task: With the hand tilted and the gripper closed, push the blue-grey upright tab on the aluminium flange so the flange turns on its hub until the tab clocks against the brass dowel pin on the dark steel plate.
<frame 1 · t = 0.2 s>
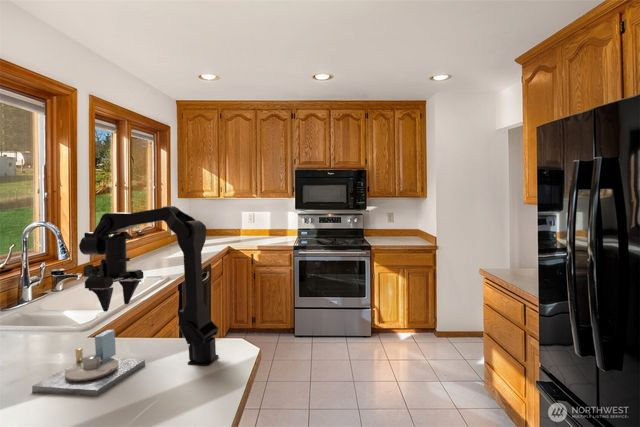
hand: (116, 307, 118), 14 cm above the counter, tool pointing down, fingers open, 9 cm apart
locating plate: (92, 377, 104), on the counter
flange: (94, 353, 105), point 6 cm above the counter, hinge at 0.0°
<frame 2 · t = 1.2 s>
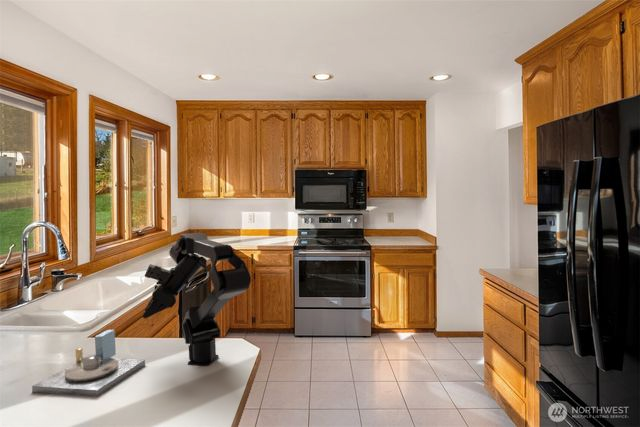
hand: (144, 314, 113), 14 cm above the counter, tool tilted 45°, fingers open, 7 cm apart
nothing on the counter moved.
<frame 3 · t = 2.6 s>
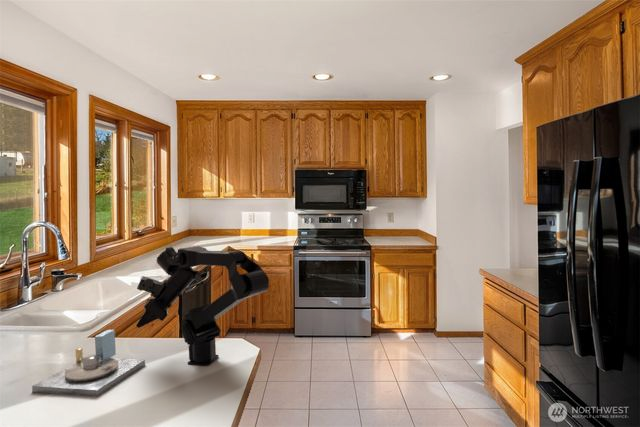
hand: (137, 326, 113), 10 cm above the counter, tool tilted 45°, fingers closed
nothing on the counter moved.
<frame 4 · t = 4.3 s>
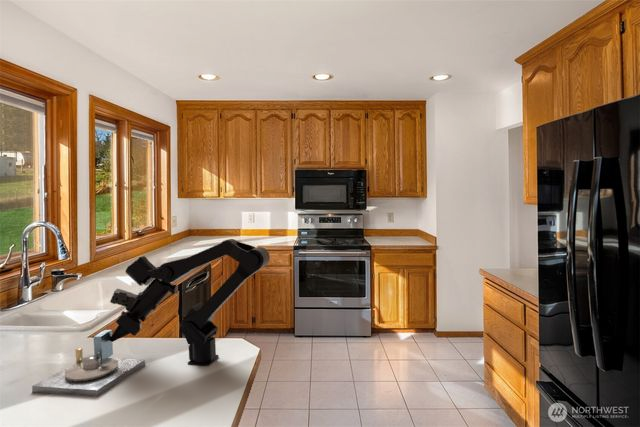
hand: (111, 340, 111), 7 cm above the counter, tool tilted 45°, fingers closed
flange: (94, 353, 105), point 6 cm above the counter, hinge at 5.9°, touching gripper
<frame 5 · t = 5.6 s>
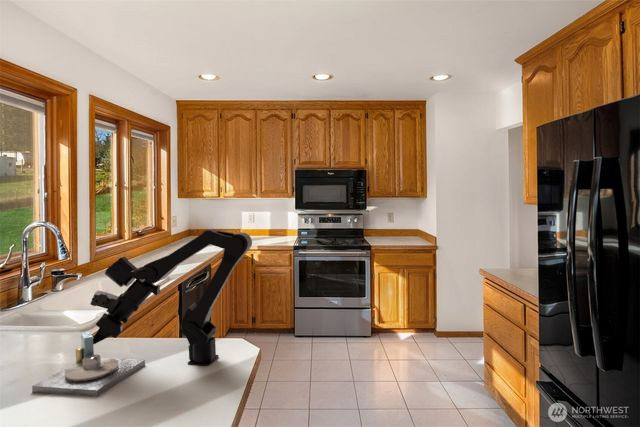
hand: (92, 342, 109), 7 cm above the counter, tool tilted 45°, fingers closed
flange: (90, 354, 104), point 6 cm above the counter, hinge at 45.2°, touching gripper, locating plate
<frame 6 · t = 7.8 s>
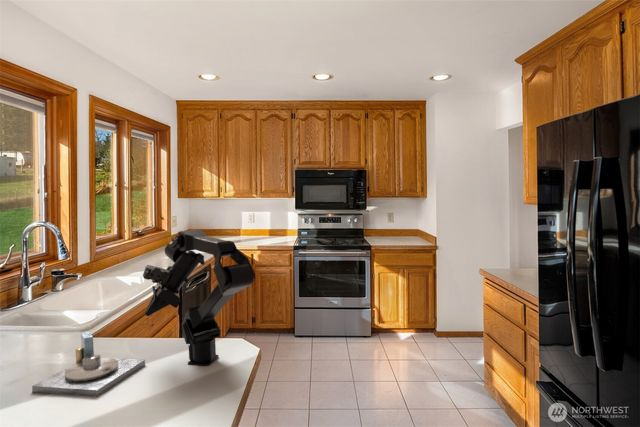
hand: (146, 314, 113), 13 cm above the counter, tool tilted 40°, fingers closed
flange: (90, 354, 104), point 6 cm above the counter, hinge at 45.2°, touching locating plate
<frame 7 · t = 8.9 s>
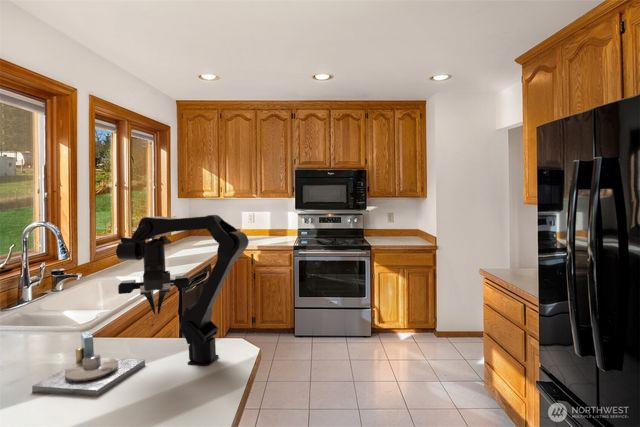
hand: (156, 313, 115), 13 cm above the counter, tool pointing down, fingers closed
nothing on the counter moved.
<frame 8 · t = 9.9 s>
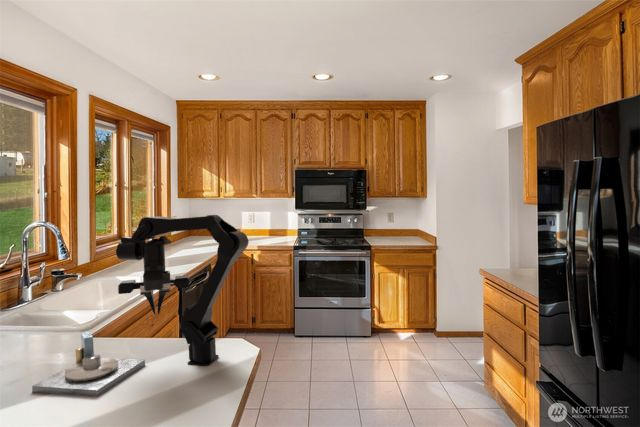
hand: (156, 313, 115), 13 cm above the counter, tool pointing down, fingers closed
nothing on the counter moved.
at the end: flange at +45° (first picture: +0°) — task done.
